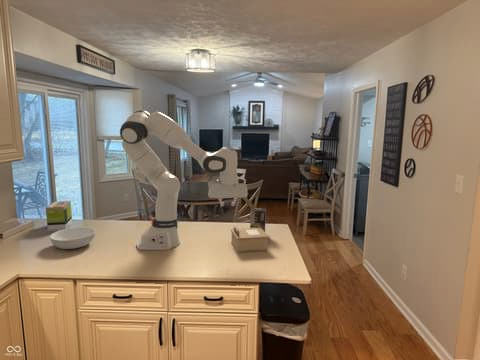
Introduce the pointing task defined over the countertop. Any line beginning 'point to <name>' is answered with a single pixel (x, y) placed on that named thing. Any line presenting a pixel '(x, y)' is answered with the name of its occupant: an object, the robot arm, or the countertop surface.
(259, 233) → the lid
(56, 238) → the serving bowl
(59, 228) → the tea box
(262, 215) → the coffee box
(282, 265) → the countertop surface
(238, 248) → the box
